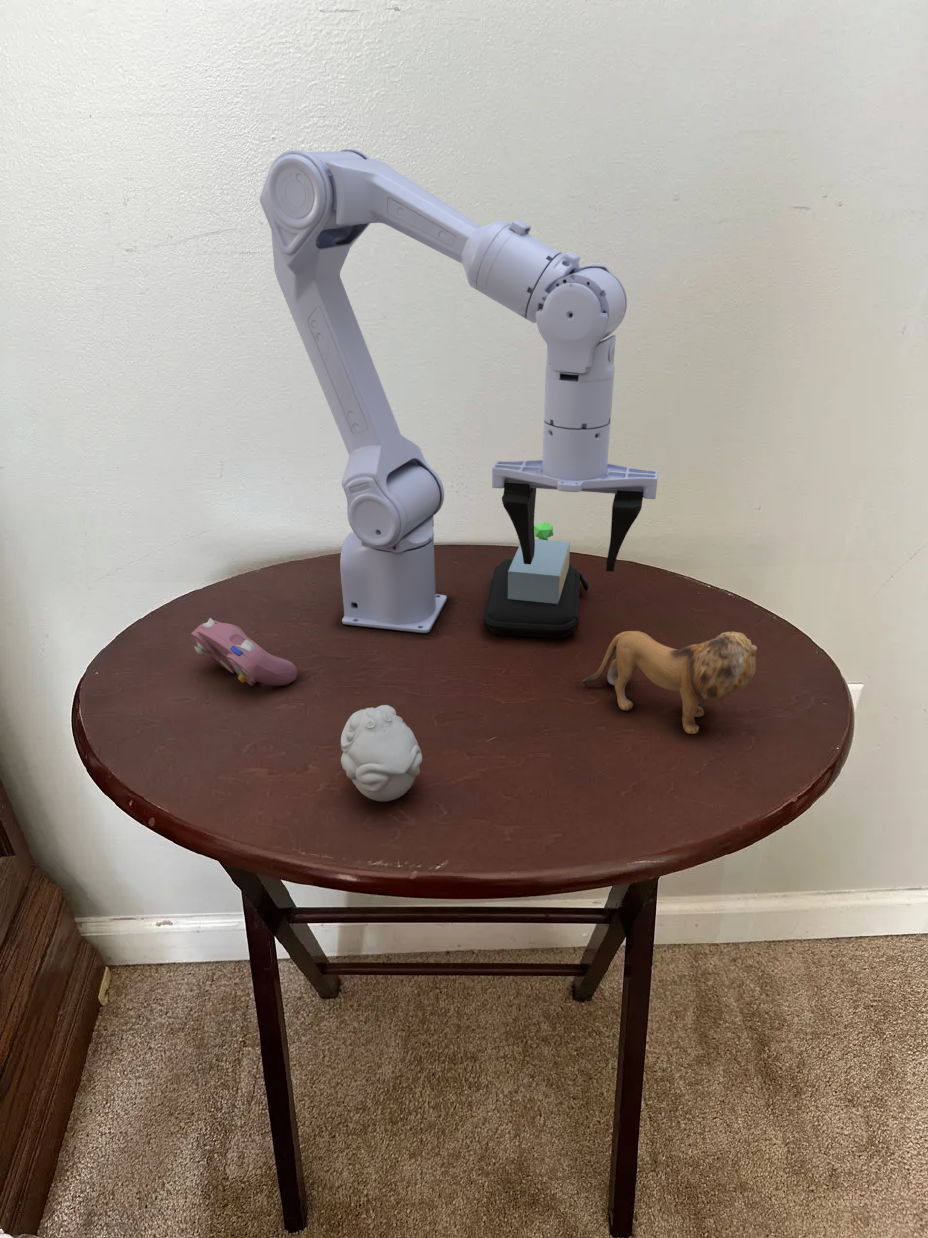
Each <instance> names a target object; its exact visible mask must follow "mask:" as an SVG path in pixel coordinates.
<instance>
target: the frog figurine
mask: <svg viewBox="0 0 928 1238" xmlns="http://www.w3.org/2000/svg"><path fill="white" fill-rule="evenodd" d="M340 749H341V751H342V753H341V757H340V763H341V767H342V769H343V770H344V771H345V775H346V776H347V778H349V779H351V781H352V783H353V784H354V786H355V787H356V789H357V790H358V791H359V792H360V793H361V794H362V795H363V796H364V797H366V798H368V799H370V800H372V801H376V802H390V801H393V800H394V801H395V800H397V799H398V798H401V797H402V796H404V795H405V794H406V793H407V792H408V791H409V790H410V788H411V787H412V785H413V784H414V782H415V779H416V777H418V776H419V775H420V773H421V771H420V765H421V764H422V763H423V754H422V749H421V748H420V746H419V744H418V741H417V739H416V737H415V734H414V732H413V731H412V729H411V728H410V727H409V726H408V725H407V722H405V721H404V719H403V718H402V716H398V715H397V711H396V709H395V708H394V707H392V706H391V705H389V704H381V705H379V706H377V707H366V708H363V709H359V710H357V711H355V712H354V713H352V714H351V716H350V717H348V719H347V721H346V723H345V725H344V727H343V730H342V732H341V737H340Z"/></svg>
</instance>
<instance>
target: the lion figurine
mask: <svg viewBox="0 0 928 1238" xmlns="http://www.w3.org/2000/svg"><path fill="white" fill-rule="evenodd" d="M747 637H748V636H746V635H745V634H744V633H743V632H737V631H726V632H721V633H720V635H717V636H716V637H715V638H711V639H709V640H705V641H704V642H701V643H694V644H690V645H687V646H686V647H683V648H680V649H677V648H673V647H670V646H667V645H664V644H662V643H660V642H658V641H656V640H655V639H654V638H653V637H651V636H650V635H648V634H647V633H645V632H644V631H643V632H642V631H640V630H627V631H622V632H620V633H618V634H617V635H615V636H614V637H613V639H612V640H611V641H610V643H609V645H608V647H607V649H606V652H605V653H604V657H603V659H602V661H601V663H600V664H601V665H600V666H599V668H598V669H597V671H596V672H594V674H592V675H589V676H587V677H586V678H584V679H583V680H582V681H581V682H582V683H584V684H586V685H592V684H593V683H595V682H596V681H597V680H599V678H600V677H601V676H602V675H603V673H604V672H605V671H606V669H607V666H608V665H609V668H608V671H607V675H606V679H607V682H608V683H609V684H610V685H612V686H614V691H615V693H616V699H617V704H618V707H619V709H620V710H622V711H627V712H628V711H630V710H631V709H633V706H634V703H633V701H631V700H629V699H628V698H627V697H626V691H625V690H626V686H627V684H628V682H629V681H630V680H631V678H632V676H633V674H634V672H635V670H636V669H639V670H640V671H642V673H643V674H644V676H646V677H647V679H649V680H650V681H651V682H652V683H653V684H655V685H657V686H658V687H660V688H661V689H664V690H668V691H671V692H676V693H679V695H680V697H681V701H682V720H681V722H682V727H683V730H684V732H685V733H687V734H689V735H695V734H697V733H699V729H700V727H699V725H697V724H696V721H695V717H696V718H701V717H702V716H704V714H705V711H704V708H703V707H701V706H699V704H700V701H702V702H708V701H710V702H715V703H719V702H721V701H723V700H725V698H726V697H727V696H728V695H729V694H733V693H735V692H736V691H738V690H741V689H744V687H745V686H747V685H748V684H749V682H750V681H751V680H752V679H753V677H754V675H755V674H756V655H757V651H758V648H757V646H756V645H755V644H752V640H751V639H749V638H747ZM614 653H615V656H616V657H615V659H613V660H612V661H611V659H612V657H613V655H614ZM610 661H611V662H610ZM609 663H610V664H609Z"/></svg>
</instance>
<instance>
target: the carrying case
mask: <svg viewBox="0 0 928 1238" xmlns="http://www.w3.org/2000/svg"><path fill="white" fill-rule="evenodd" d="M513 559H514V558H505V559H503V560H501V561H500V562H499V563H498V564H497V565H496V566H495V567H494V569H493V573H492V577H491V580H490V585H489V589H488V594H487V597H486V602H485V606H484V611H483V616H482V622H483V624H484V626H485V627H486V628H488V629H489V631H490V632H492V633H494V634H495V635H502V636H516V637H517V636H519V637H535V638H552V639H560V638H566V637H567V636H568V635H570V633H572V632H573V631H574V630H575V629H577V628H578V626H579V605H580V602H579V601H580V588H581V587H580V584H581V585H582V588H583V589H584V591H585V592H588V591H589V582H588V580H587V578H586V577H585V575H584V574H583V573H582V572H580V571H578V570H577V569H576V568H575V567H574V566H573V565H572V564H571V563H570V562H569V568H568V572H567V575H566V579H565V582H564V585H563V589H562V592H561V596H560V599H559V602H558V604H553V603H543V602H533V601H523V600H513V599H508V571H509V568H510V566H511V564H512V561H513Z"/></svg>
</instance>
